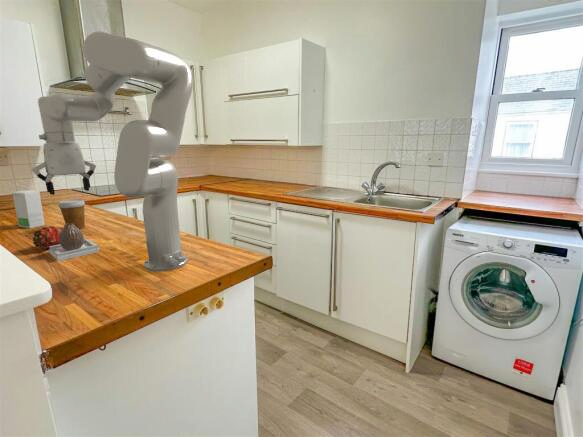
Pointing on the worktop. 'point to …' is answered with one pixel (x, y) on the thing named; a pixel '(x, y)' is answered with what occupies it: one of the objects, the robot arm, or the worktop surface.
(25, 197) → the skincare box
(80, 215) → the disposable coffee cup
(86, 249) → the baseplate
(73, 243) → the vase
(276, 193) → the worktop surface
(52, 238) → the dragon fruit
